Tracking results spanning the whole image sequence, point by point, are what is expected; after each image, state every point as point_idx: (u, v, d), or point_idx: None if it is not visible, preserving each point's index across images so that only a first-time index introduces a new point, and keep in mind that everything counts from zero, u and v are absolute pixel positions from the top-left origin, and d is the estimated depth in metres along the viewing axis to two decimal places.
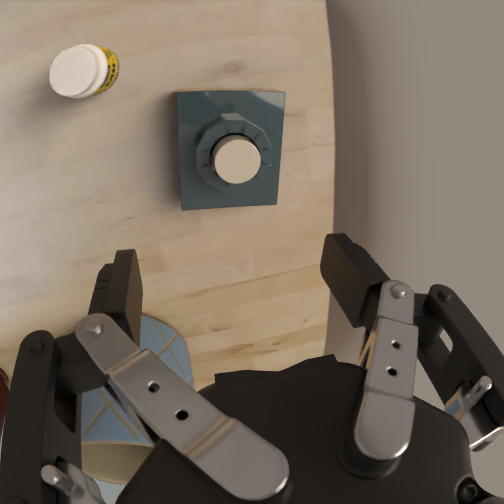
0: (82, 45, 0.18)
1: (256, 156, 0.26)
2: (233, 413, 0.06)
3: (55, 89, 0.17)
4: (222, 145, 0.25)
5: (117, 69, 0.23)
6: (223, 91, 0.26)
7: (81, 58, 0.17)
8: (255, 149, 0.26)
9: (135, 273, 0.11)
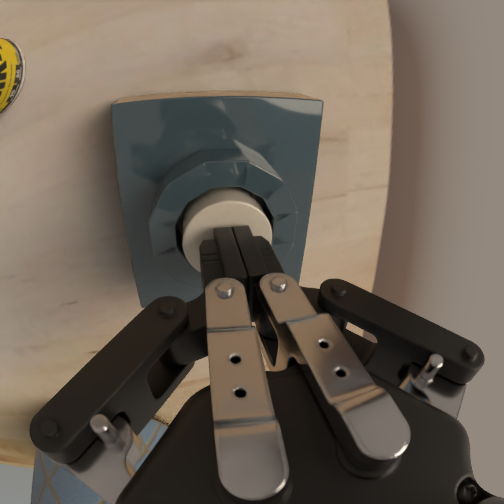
0: None
1: (264, 230, 0.14)
2: None
3: None
4: (197, 211, 0.13)
5: (15, 72, 0.10)
6: (202, 99, 0.13)
7: None
8: (262, 218, 0.14)
9: None
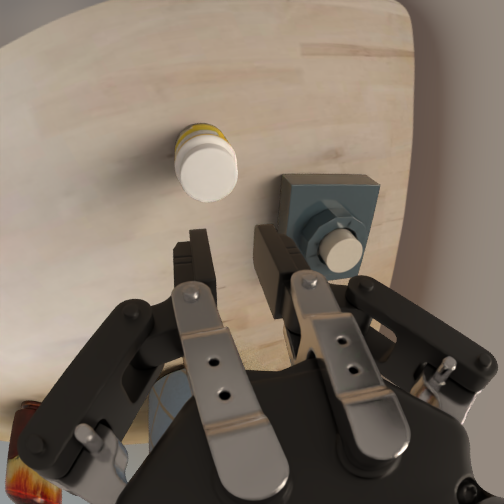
0: (210, 138, 0.21)
1: (359, 250, 0.30)
2: None
3: (189, 193, 0.21)
4: (335, 242, 0.29)
5: None
6: (331, 185, 0.29)
7: (221, 163, 0.20)
8: (360, 245, 0.30)
9: None
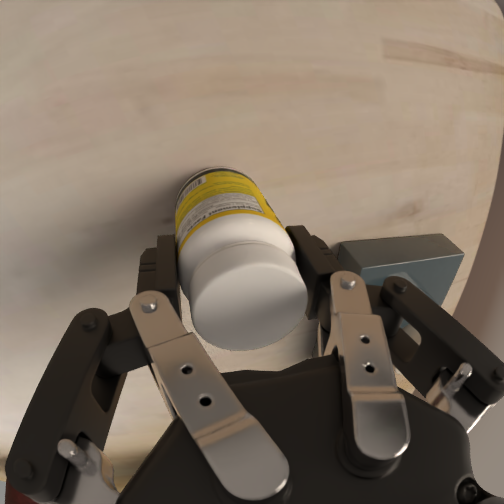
0: (250, 225, 0.11)
1: None
2: None
3: (211, 341, 0.11)
4: None
5: None
6: (412, 262, 0.19)
7: (279, 290, 0.10)
8: None
9: None
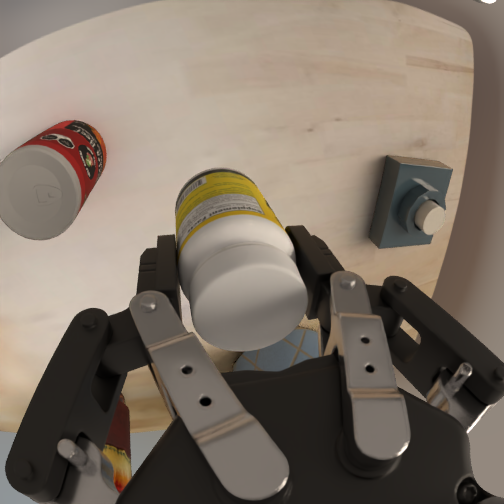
0: (250, 226, 0.11)
1: (443, 217, 0.34)
2: None
3: (211, 342, 0.11)
4: (430, 209, 0.33)
5: None
6: (424, 166, 0.34)
7: (279, 291, 0.10)
8: (444, 213, 0.34)
9: (176, 257, 0.12)
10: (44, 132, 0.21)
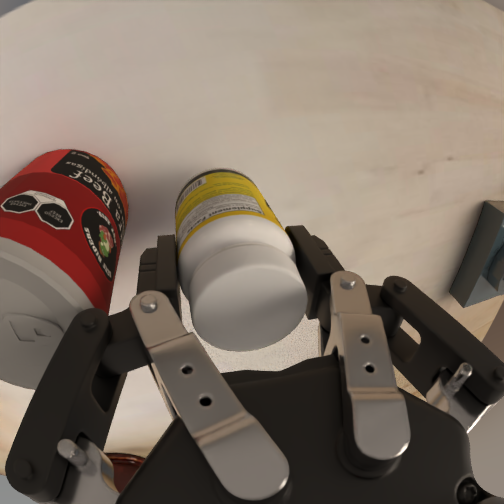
0: (250, 226, 0.11)
1: None
2: None
3: (211, 342, 0.11)
4: None
5: None
6: None
7: (279, 291, 0.10)
8: None
9: (176, 257, 0.12)
10: (13, 182, 0.10)
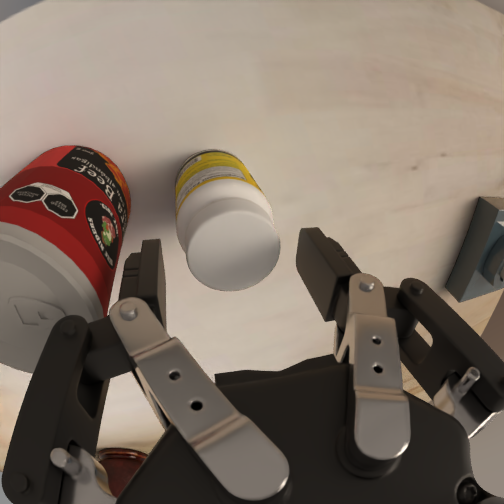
0: (234, 187, 0.14)
1: None
2: None
3: (201, 280, 0.13)
4: None
5: None
6: None
7: (256, 235, 0.13)
8: None
9: (161, 262, 0.12)
10: (21, 175, 0.11)
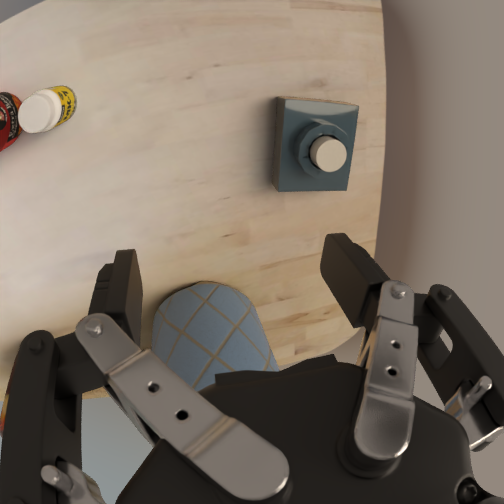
0: (42, 91, 0.23)
1: (344, 152, 0.35)
2: (233, 413, 0.06)
3: (23, 128, 0.23)
4: (322, 142, 0.34)
5: (74, 104, 0.29)
6: (317, 102, 0.34)
7: (39, 104, 0.22)
8: (344, 147, 0.34)
9: (135, 273, 0.11)
10: None
